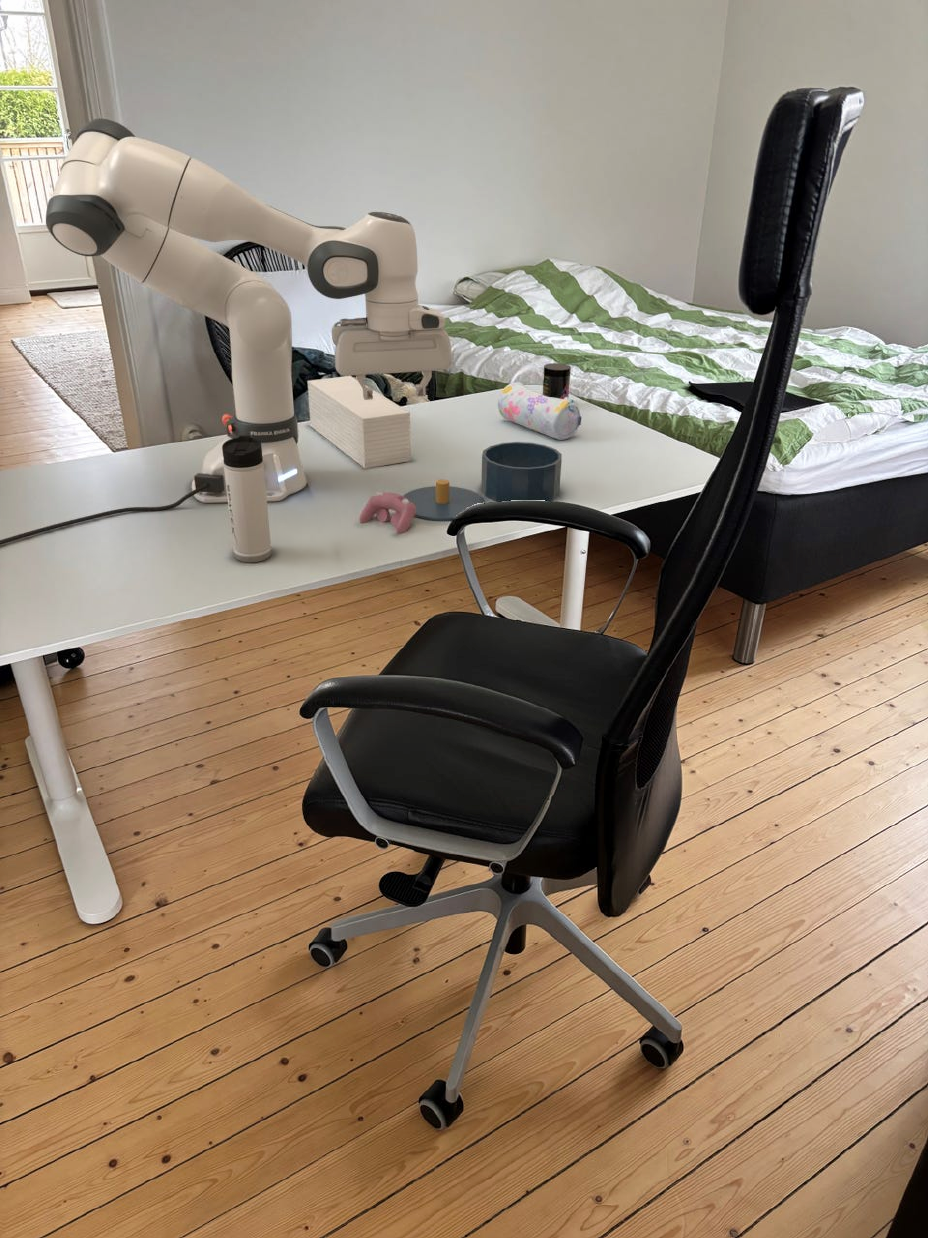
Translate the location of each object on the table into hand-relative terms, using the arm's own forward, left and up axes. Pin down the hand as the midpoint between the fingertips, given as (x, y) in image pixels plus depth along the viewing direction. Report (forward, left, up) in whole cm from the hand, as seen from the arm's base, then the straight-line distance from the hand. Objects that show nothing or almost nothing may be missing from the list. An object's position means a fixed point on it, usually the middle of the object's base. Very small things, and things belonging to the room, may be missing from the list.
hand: (394, 397), depth 164 cm
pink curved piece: (-3, -5, -22) cm, 23 cm away
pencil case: (+44, +41, -22) cm, 64 cm away
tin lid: (+9, +1, -22) cm, 23 cm away
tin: (+26, +4, -22) cm, 34 cm away
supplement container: (+55, +57, -22) cm, 82 cm away
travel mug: (-28, -11, -22) cm, 37 cm away
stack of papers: (+1, +42, -22) cm, 47 cm away
